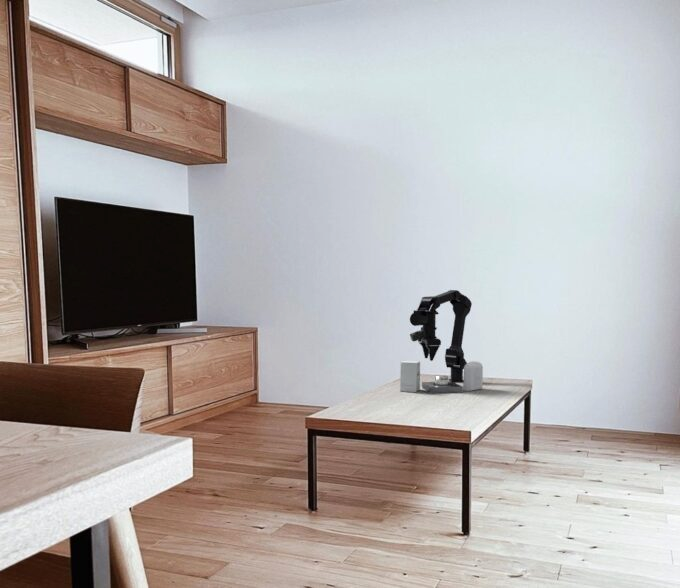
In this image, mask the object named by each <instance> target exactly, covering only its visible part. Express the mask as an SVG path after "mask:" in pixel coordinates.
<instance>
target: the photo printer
mask: <svg viewBox="0 0 680 588" xmlns="http://www.w3.org/2000/svg"><path fill="white" fill-rule="evenodd" d="M483 369H484V366H483V364H482V363H481V362H480V361H474V360H473V361H472V360H471V361H470V362H467V364H466V365H465V366H464V369H463V380H464V382H463V385H462V389H463V390H464V391H465V392H471V391H472V392H473V391H476V390H482V389H483V380H484V379H483V373H484V370H483Z"/></svg>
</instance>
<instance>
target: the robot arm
mask: <svg viewBox="0 0 680 588" xmlns="http://www.w3.org/2000/svg"><path fill="white" fill-rule="evenodd" d="M448 302H449V303H450V304H451V306H452V311H453V314H454V322H453V328H452V334H451V343H450V346H449V347H448V348H446V349H445V354H444V361H445V365H446V368H447V369H448V368H450V378H448V381H449V382H454V383H459V382H460V383H461V382H464V366H465V365H466V364H467V363H468V362H467V360H466V359H465V353H464V350H463V348H462V345H463V339H464V331H465V325H466V319H467V316H469V314H470V312H471V310H472V309H471V308H472V301H471V300H470V298H468V297H467V296H466V295H464V294H463V293H461V292H460V291H459V290H455V289H450V290H447V291H445V292H443V293H440V294H437V295H434V296H429V295H427V296H422V297H421V300H420V301H419V304H418V306H417V308H416V310H413V313H412V314H411V315H410V317H409V322H410V324H411V325H412V326H413V327H416V326H417V327H419V326H421V327H420V330H417V331H415V332H411V333H410V334H409V336H410V337H409V338H410V340H411V342H418V345H420V346H421V348H422V352H423V356H424V359H428V358H429V360H430V361H431V362H432V361H433V360H434V359H435V357H436V354H437V352H438V351H439V348H440V347H441V346H442V340H441V339H440V338H438V336H437V335H436V330H437V328H438V327H437V326H436V322H437V321H436V320H437V319H436V317H437V316H436V315H439V312H438V310H437V309H438V308H440V307H441V305H442V304H445V303H448Z"/></svg>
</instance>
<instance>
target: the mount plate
mask: <svg viewBox="0 0 680 588" xmlns="http://www.w3.org/2000/svg"><path fill="white" fill-rule="evenodd" d="M421 388H422V389H423V390H425V391H426V392H428V393H429V394H447V393H449V394H452V393H453V394H454V393H455V394H456V393H459V394H460V393H463V385H462V386H461V385H460V384H458V383H457V382H451V381H448V386H438V385H435V381H422V382H421Z"/></svg>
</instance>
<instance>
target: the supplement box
mask: <svg viewBox="0 0 680 588" xmlns="http://www.w3.org/2000/svg"><path fill="white" fill-rule="evenodd" d="M399 373H400V379H399V381H400V384H399V391H400V392H405V393H406V392H407V393H417V392H418V391H420V390H421V389H420V388H421V361H420V360H402V361H401V362H400V372H399Z"/></svg>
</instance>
